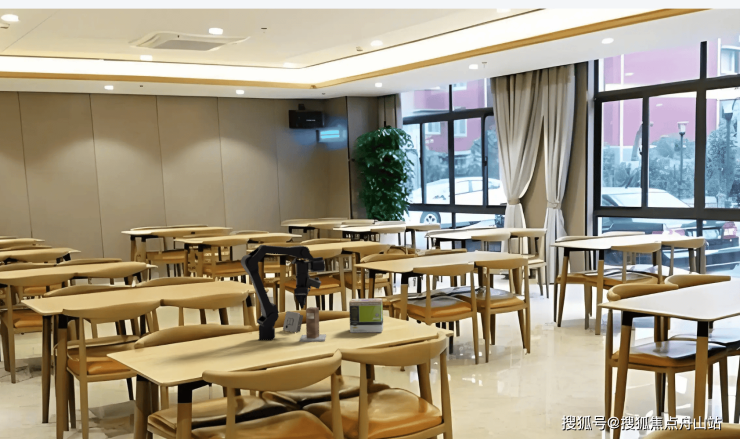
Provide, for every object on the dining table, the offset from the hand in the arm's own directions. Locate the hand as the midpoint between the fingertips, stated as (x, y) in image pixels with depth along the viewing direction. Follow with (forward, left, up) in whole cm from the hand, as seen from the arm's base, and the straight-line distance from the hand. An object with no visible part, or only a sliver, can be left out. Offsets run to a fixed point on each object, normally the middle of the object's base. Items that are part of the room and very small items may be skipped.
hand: (303, 306), depth 329 cm
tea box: (+29, +7, -13) cm, 33 cm away
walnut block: (+5, -9, -12) cm, 16 cm away
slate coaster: (+5, -9, -13) cm, 17 cm away
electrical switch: (-6, +10, -13) cm, 18 cm away
